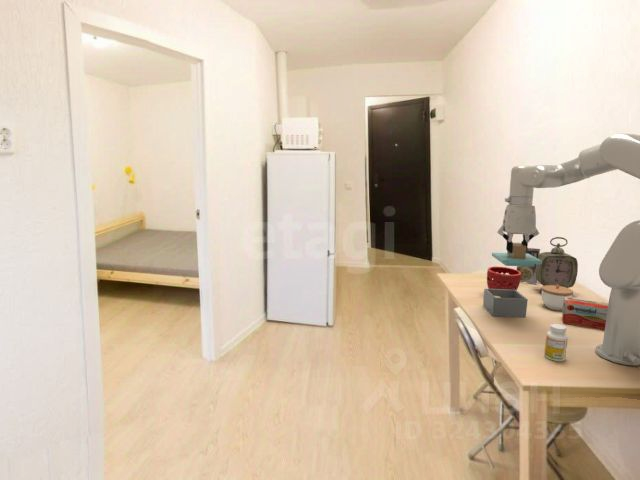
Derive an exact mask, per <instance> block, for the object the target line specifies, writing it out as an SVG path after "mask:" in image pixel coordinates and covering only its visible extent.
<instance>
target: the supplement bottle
mask: <svg viewBox="0 0 640 480" xmlns="http://www.w3.org/2000/svg"><path fill="white" fill-rule="evenodd" d="M566 332H567V326H565V325H564V324H559V323H552V324H550V327H549V331H547V333H546V339H545V347H544V357H545V358H547V360H551V361H555V362H564V361H565V360H566V355H567V348H568V340H569V336H568V334H567V333H566Z"/></svg>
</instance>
